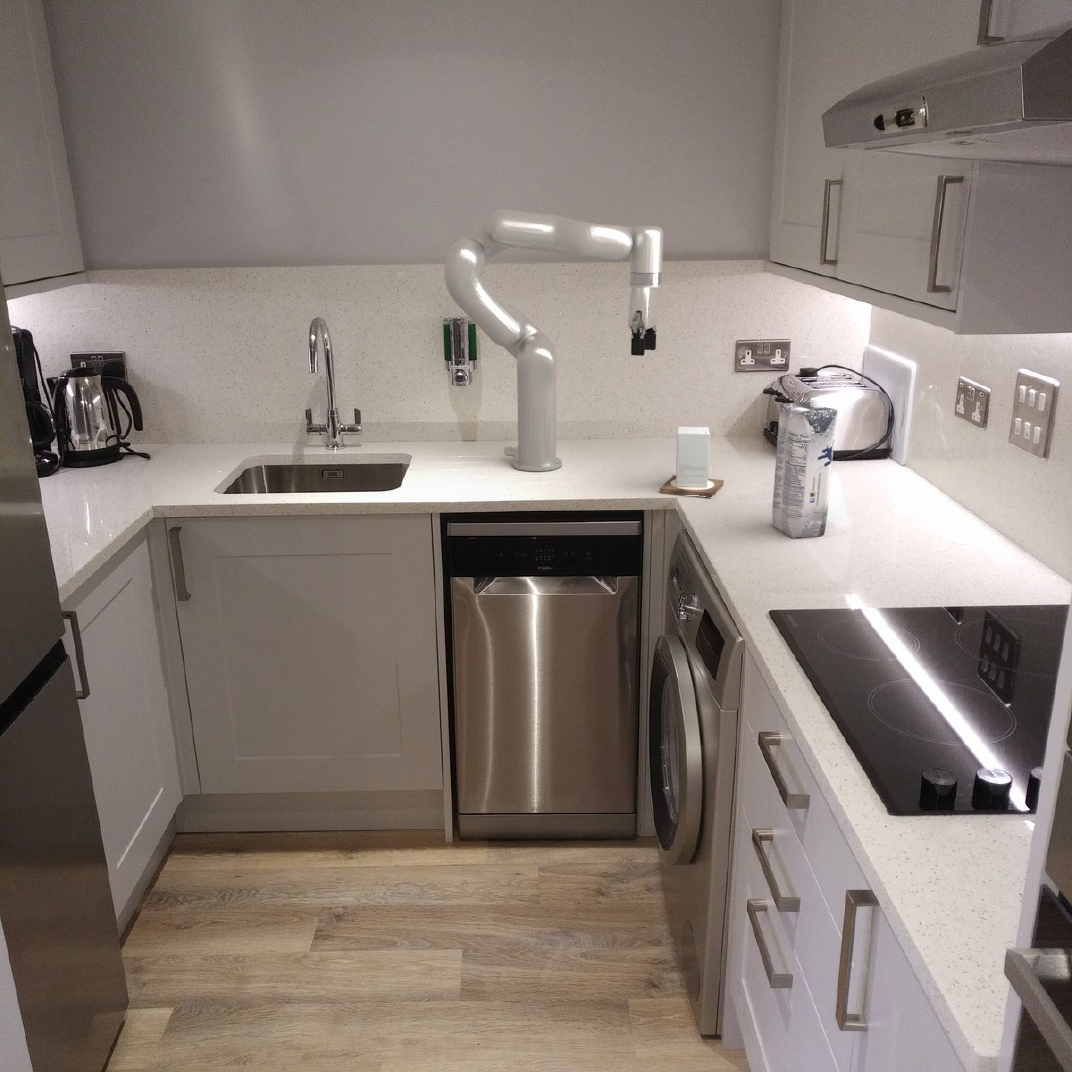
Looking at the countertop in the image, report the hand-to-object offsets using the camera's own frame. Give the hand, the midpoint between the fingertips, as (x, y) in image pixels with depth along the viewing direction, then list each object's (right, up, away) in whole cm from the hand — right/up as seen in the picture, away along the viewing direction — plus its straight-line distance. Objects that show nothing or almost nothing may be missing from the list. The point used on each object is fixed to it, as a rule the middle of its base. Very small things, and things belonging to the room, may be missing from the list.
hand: (643, 352), depth 247 cm
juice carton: (+27, -44, -41) cm, 66 cm away
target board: (+10, -34, -12) cm, 37 cm away
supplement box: (+10, -33, -12) cm, 36 cm away
